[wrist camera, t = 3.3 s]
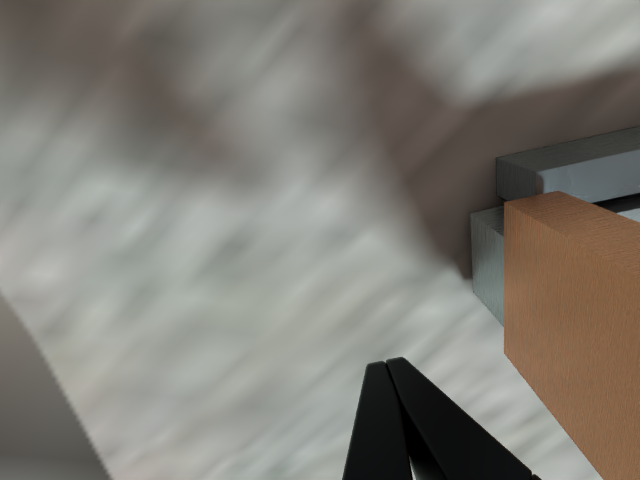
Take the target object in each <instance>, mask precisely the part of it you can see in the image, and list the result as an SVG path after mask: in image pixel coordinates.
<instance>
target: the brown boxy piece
mask: <svg viewBox="0 0 640 480" xmlns="http://www.w3.org/2000/svg"><path fill="white" fill-rule="evenodd" d="M470 219H471V244H472V268H473V292H474V293H475V295H476V296H477V297H478V298H479V299H480V300H481V302H482V303H483V304H484V305H485V306H486V307H487V308H488V310H489V311H490V312H491V313H492V314H493V315H494V316H495V318H496V319H497V320H498V321H499V322H500V323H501V325H502V326H503V327H504V354H505V355H506V356H507V358H508V359H509V360H510V361H511V363H512V364H513V365H514V366H515V368H516V369H517V370H518V372H519V373H520V374H521V375H522V377H523V378H524V379H525V380H526V382H527V383H528V384H529V386H530V387H531V388H532V389H533V391H534V392H535V393H536V394H537V396H538V397H539V398H540V400H541V401H542V402H543V403H544V405H545V406H546V407H547V408H548V410H549V411H550V412H551V414H552V415H553V416H554V417H555V419H556V420H557V421H558V422H559V424H560V425H561V426H562V428H563V429H564V430H565V431H566V433H567V434H568V435H569V436H570V438H571V439H572V440H573V442H574V443H575V444H576V445H577V447H578V448H579V449H580V450H581V452H582V453H583V454H584V455H585V457H586V458H587V459H588V461H589V462H590V463H591V464H592V466H593V467H594V468H595V469H596V471H597V472H598V473H599V475H600V476H601V477H602V478H603V480H640V193H635V194H630V195H626V196H621V197H617V198H612V199H607V200H603V201H598V202H594V203H589V202H586V201H584V200H581V199H579V198H576V197H574V196H571V195H569V194H566V193H564V192H561V191H559V190H558V191H553V192H549V193H544V194H540V195H535V196H530V197H526V198H521V199H517V200H512V201H508V202H504V206H500V207H496V208H491V209H487V210H482V211H477V212H473V213H470Z"/></svg>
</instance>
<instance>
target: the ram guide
mask: <svg viewBox="0 0 640 480" xmlns="http://www.w3.org/2000/svg"><path fill="white" fill-rule="evenodd" d="M558 190H559V191H561V192H564V193H566V194H569V195H571V196H574V197H576V198H579V199H581V200H584V201H586V202H589V203H594V202H598V201H603V200H607V199H612V198H617V197H621V196H626V195H630V194H635V193H640V126H638V127H634V128H629V129H625V130H620V131H615V132H611V133H606V134H602V135H597V136H593V137H588V138H584V139H579V140H575V141H570V142H566V143H561V144H557V145H552V146H547V147H543V148H538V149H534V150H529V151H525V152H520V153H516V154H511V155H507V156H502V157H498V158H496V195H498V196H500V197H502V198H503V199H505V200H507V201H512V200H517V199H521V198H526V197H530V196H535V195H540V194H544V193H549V192H553V191H558Z"/></svg>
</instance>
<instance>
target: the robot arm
mask: <svg viewBox="0 0 640 480" xmlns="http://www.w3.org/2000/svg"><path fill="white" fill-rule="evenodd" d="M410 463H411V465H410ZM411 466H412V469H413V472H414V474H415V477H416V480H541V479H540V478H539V477H538V476H537V475H535V474H533V475H532V472H531V470H530V469H529V468H528V467H527V466H525V465H524V464H523V463H522V462H521V461H520V460H519V459H518V458H516V457H515V456H514V455H513V454H512V453H511V452H510V451H509V450H507V449H506V448H505V447H504V446H503V445H502V444H501V443H500V442H498V441H497V440H496V439H495V438H494V437H493V436H492V435H491V434H489V433H488V432H487V431H486V430H485V429H484V428H483V427H482V426H480V425H479V424H478V423H477V422H476V421H475V420H474V419H473V418H471V417H470V416H469V415H468V414H467V413H466V412H465V411H464V410H462V409H461V408H460V407H459V406H458V405H457V404H456V403H455V402H453V401H452V400H451V399H450V398H449V397H448V396H447V395H446V394H444V393H443V392H442V391H441V390H440V389H439V388H438V387H437V386H435V385H434V384H433V383H432V382H431V381H430V380H429V379H428V378H426V377H425V376H424V375H423V374H422V373H421V372H420V371H419V370H417V369H416V368H415V367H414V366H413V365H412V364H411V363H410V362H408V361H407V360H406V359H405V358H403V357H398V358H393V359H388V360H387V361H386V363H385V362H384V361H379V362H374V363H369V364H368V365H367V366H366V370H365V375H364V380H363V384H362V389H361V394H360V398H359V403H358V408H357V412H356V417H355V422H354V426H353V431H352V436H351V440H350V445H349V450H348V454H347V459H346V464H345V469H344V473H343V478H342V480H413V477H412V471H411Z"/></svg>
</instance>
